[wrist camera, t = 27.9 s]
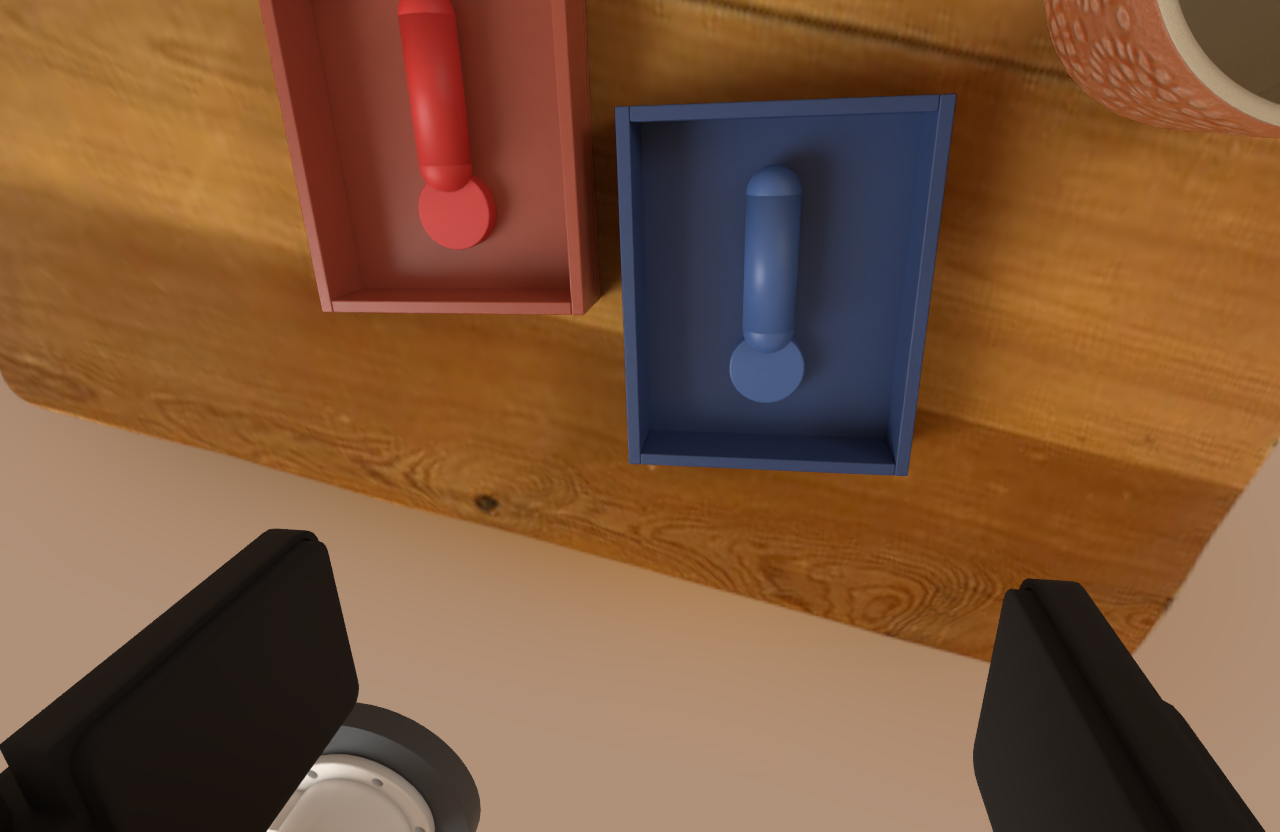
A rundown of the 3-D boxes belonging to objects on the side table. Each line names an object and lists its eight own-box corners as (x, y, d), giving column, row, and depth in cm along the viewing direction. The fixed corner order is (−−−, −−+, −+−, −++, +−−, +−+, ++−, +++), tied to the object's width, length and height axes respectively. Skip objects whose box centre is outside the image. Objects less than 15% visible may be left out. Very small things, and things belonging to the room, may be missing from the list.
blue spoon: (734, 164, 31) (731, 166, 29) (816, 162, 31) (820, 164, 28) (729, 395, 35) (727, 413, 33) (801, 397, 35) (804, 415, 33)
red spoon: (397, -8, 31) (369, -18, 29) (474, -13, 30) (451, -25, 28) (432, 247, 35) (410, 255, 33) (500, 246, 34) (482, 254, 32)
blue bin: (640, 435, 38) (628, 464, 34) (629, 109, 32) (614, 106, 28) (894, 445, 35) (907, 476, 32) (936, 97, 29) (957, 93, 26)
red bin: (359, 296, 37) (322, 312, 34) (294, -62, 31) (240, -84, 28) (600, 298, 35) (584, 315, 32) (580, -86, 29) (558, -113, 26)
